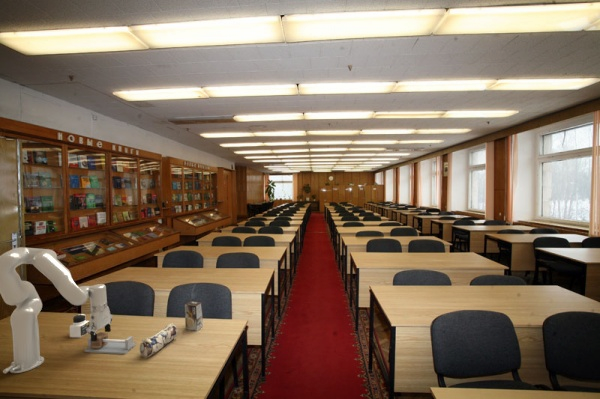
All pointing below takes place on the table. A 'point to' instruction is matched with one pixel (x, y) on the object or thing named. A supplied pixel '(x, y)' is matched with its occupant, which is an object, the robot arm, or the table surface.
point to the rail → (113, 346)
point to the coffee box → (193, 315)
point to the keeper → (99, 340)
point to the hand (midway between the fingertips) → (101, 336)
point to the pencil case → (158, 340)
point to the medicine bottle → (79, 326)
